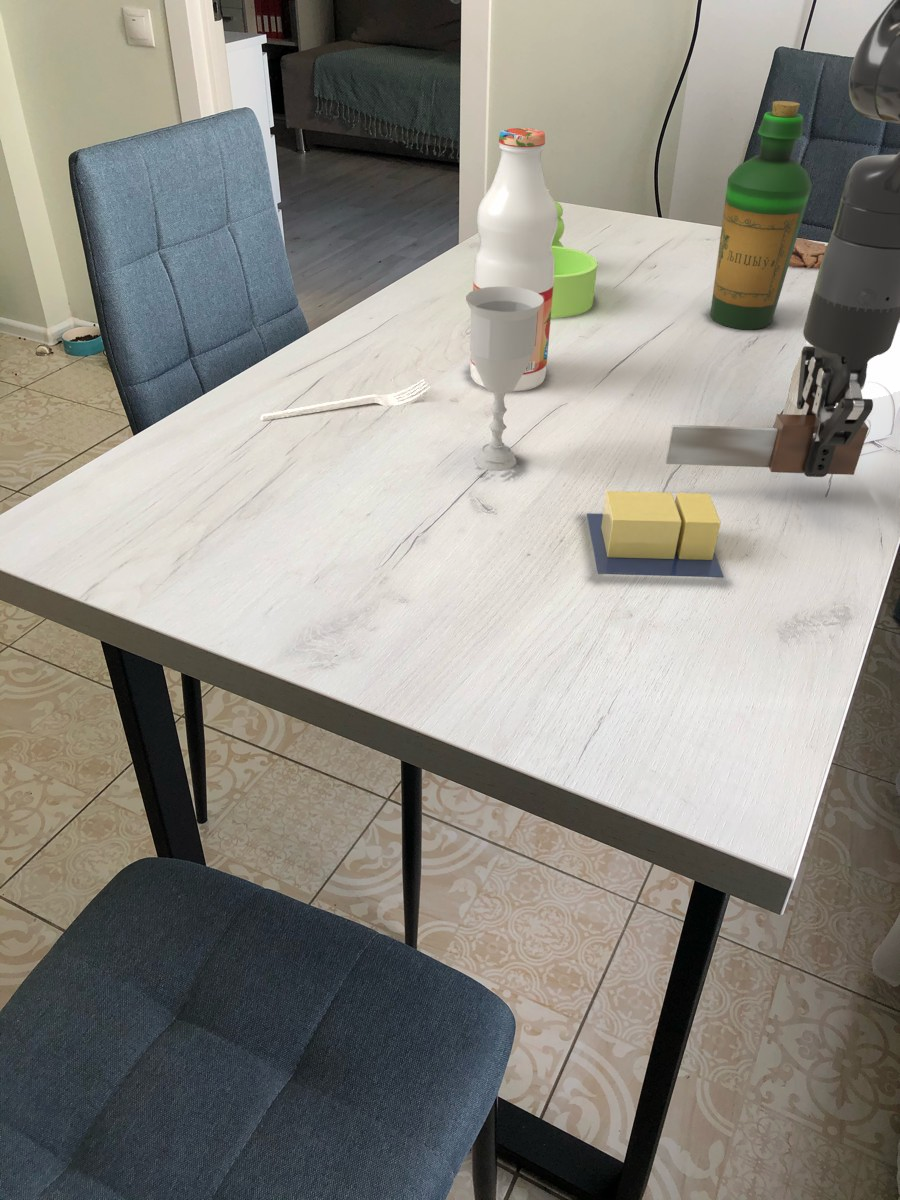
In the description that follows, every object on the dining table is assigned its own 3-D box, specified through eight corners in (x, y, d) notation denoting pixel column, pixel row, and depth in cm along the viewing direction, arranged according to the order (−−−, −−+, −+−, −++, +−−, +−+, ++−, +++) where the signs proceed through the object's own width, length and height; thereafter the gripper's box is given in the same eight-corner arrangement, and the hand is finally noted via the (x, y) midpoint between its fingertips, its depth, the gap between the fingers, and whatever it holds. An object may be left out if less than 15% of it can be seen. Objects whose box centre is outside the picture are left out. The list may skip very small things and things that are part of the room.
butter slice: (701, 530, 88) (709, 493, 85) (712, 560, 84) (721, 522, 81) (669, 529, 88) (676, 492, 85) (678, 559, 84) (686, 521, 81)
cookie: (835, 274, 152) (840, 255, 151) (768, 266, 155) (772, 248, 153) (833, 256, 160) (838, 238, 158) (769, 249, 162) (773, 231, 161)
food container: (598, 321, 133) (609, 229, 126) (496, 319, 133) (501, 227, 125) (578, 265, 153) (586, 183, 146) (489, 263, 153) (492, 181, 145)
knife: (846, 463, 92) (860, 416, 89) (853, 475, 91) (869, 427, 88) (663, 457, 92) (672, 410, 89) (667, 469, 91) (676, 421, 88)
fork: (258, 416, 107) (256, 401, 106) (422, 392, 113) (422, 377, 112) (264, 429, 105) (262, 413, 103) (432, 403, 111) (432, 388, 110)
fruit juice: (455, 373, 118) (460, 128, 101) (514, 358, 122) (529, 120, 105) (500, 401, 112) (514, 144, 95) (560, 383, 116) (585, 135, 99)
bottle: (687, 319, 134) (725, 101, 118) (729, 303, 140) (772, 93, 123) (751, 341, 128) (802, 114, 111) (793, 323, 134) (847, 105, 117)
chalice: (521, 451, 102) (534, 285, 91) (537, 482, 96) (552, 309, 85) (455, 455, 101) (459, 287, 90) (467, 487, 95) (473, 313, 84)
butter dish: (699, 525, 90) (709, 479, 87) (721, 586, 82) (733, 538, 79) (585, 521, 90) (591, 476, 87) (596, 582, 82) (603, 535, 79)
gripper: (935, 321, 76) (871, 505, 86) (876, 266, 87) (826, 436, 97) (842, 318, 76) (789, 503, 86) (795, 263, 87) (753, 433, 97)
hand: (809, 466), depth 91 cm, fingers closed on knife, 2 cm apart
